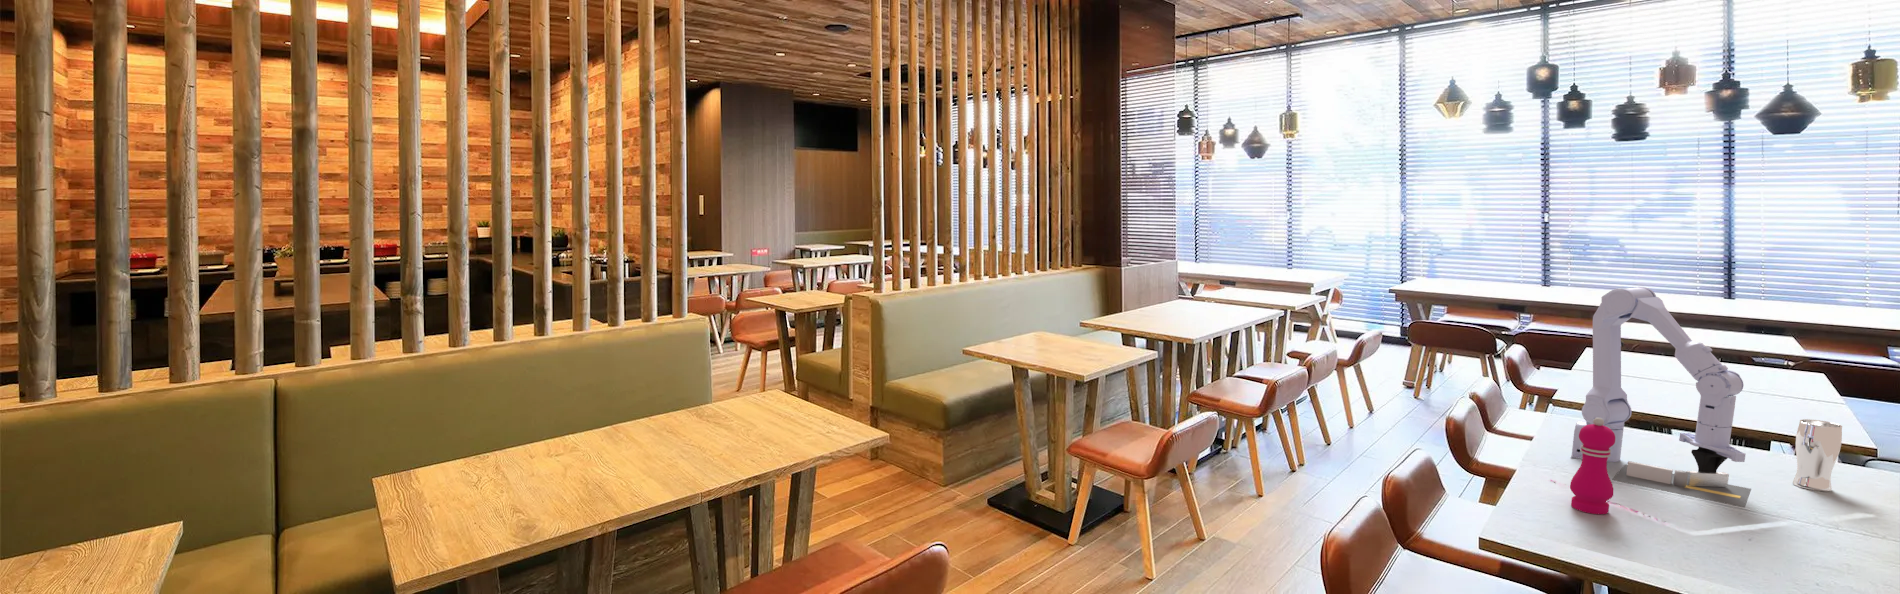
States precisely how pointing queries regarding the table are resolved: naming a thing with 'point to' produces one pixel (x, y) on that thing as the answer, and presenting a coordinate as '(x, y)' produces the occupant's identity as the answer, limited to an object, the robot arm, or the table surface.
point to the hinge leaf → (1707, 479)
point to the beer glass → (1816, 453)
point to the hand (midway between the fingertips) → (1706, 481)
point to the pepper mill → (1593, 470)
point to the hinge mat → (1689, 491)
